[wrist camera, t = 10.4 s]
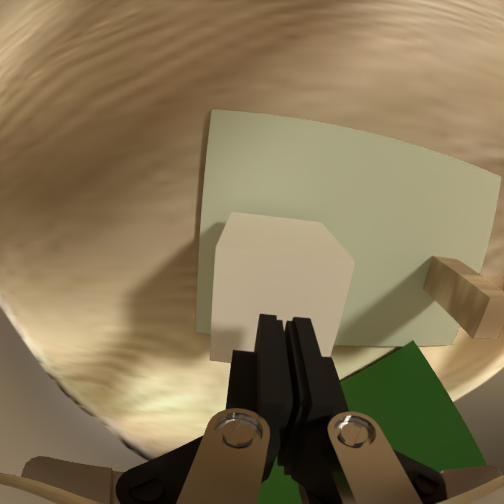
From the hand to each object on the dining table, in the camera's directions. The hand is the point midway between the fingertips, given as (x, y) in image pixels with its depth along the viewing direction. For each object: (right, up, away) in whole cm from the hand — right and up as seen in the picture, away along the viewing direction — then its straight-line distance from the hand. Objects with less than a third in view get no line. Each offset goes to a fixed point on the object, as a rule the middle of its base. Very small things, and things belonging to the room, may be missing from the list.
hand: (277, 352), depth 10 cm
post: (+13, +2, +9) cm, 16 cm away
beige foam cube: (0, +3, +8) cm, 9 cm away
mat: (+7, +4, +9) cm, 12 cm away
